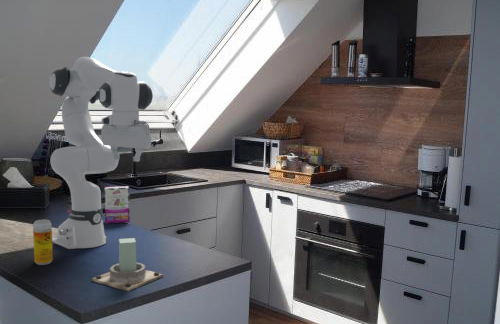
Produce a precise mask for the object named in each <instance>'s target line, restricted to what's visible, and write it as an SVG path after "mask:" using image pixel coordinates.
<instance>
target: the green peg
mask: <svg viewBox="0 0 500 324" xmlns="http://www.w3.org/2000/svg"><path fill="white" fill-rule="evenodd" d="M136 262H137V241H136V238H135V237H130V238H127V237H126V238H118V263H119V272H133V271H136Z"/></svg>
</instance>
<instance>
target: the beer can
mask: <svg viewBox="0 0 500 324" xmlns="http://www.w3.org/2000/svg"><path fill="white" fill-rule="evenodd" d="M32 228H33V229H32V234H33V256H34V263H35V264H36V265H38V266H45V265H49V264H51V263H52V261H53V260H54V256H53V254H54V253H53V242H52V238H53V229H52V222H51V220H50V219H45V218H44V219H36V220H35V221H33V224H32Z"/></svg>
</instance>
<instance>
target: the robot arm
mask: <svg viewBox="0 0 500 324" xmlns="http://www.w3.org/2000/svg"><path fill="white" fill-rule="evenodd" d="M49 87H50V91H51V92H52V94H54V95H56V96H59V97H66V98H65V99H64V100H63V102H62V105H61V118H62V124H63V125H62V126H63V129H64V135H65V138H66V140H67V141H68V142H69V143H70V144H71V145H73V146H65V147H60V148H56V149H55V150H54V151H52V153H51V155H50V160H49V161H50V166H51V169H52V170H53V171H54V172H55V174H57V175H59V177H61V178H62V179H63V180H64V181H65V182H66V183H67V185H68V188H69V192H70V197H71V198H70V199H71V209H68V210H67V209H66V210H67V214H69V216H68V218H67V219H66V220H65V221H64V222H62V223H61V224H59V226H58V228H57V234H56V235H57V236H54V237H52V244H56V245H58V246H61V247H63V248H65V249H67V250H75V249H90V248H91V249H92V248H97V247H101V246H102V245H105V244H106V243H107V235H105V226H104V220H103V219H102V217H103V207H102V195H101V194H102V192H101V189H100V187H99V186H98V185H97V184H95V183H93V182H91V181H88V180H87V179H86V175H88V174H89V175H90V174H105V173H109V172H111V171H112V172H113V171H114V170H116V168H117V167H118V164H119V161H120V159H121V157H120V156H121V154H120V153H119V152H118V149H119V148H129V149H134V151H135V152H136V153H135V154H134V156H132V161H133V162H137V163H138V162H140V161H141V155H142V154H143V150H146V149H147V150H148V149H151V147H152V137H151V130H150V125H149V123H147V121H145V120H140V111H144V110H146V109H147V108H148V107H150V105H151V103H152V102H153V99H154V97H153V96H154V94H153V90H152V89H151V86H150V85H149V84H148V83H147V82H145V81H138V77H137V75H136V74H135V73H134V72H130V71H123V70H122V71H121V70H120V71H119V70H118V71H117V70H114V69H112V68H110V67H108V66H107V65H105V64H103V63H102V62H100V61H99V60H97V59H95V58H93V57H90V56H80V57H78V58H77V59H76V60H75V61H74V63H73V67H72V68H67V67H65V66H64V67H63V68H59V69H56V70H54V71H53V72H52V73H51V75H50V78H49ZM96 101H99V103H100V104H101V106H102V107H104V108H105V109H109V110H111V111H112V112H111V114H110V115H107V116H104V117H102V118H101V124H102V126H101V134H100V135H101V137H99V136H98V135H97V134H96V132H95V129H94V126H93V125H94V124H93V121H92V118H91V114H90V110H89V103H90V104H95V103H96ZM118 147H119V148H118Z"/></svg>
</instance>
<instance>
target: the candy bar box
mask: <svg viewBox="0 0 500 324" xmlns="http://www.w3.org/2000/svg"><path fill="white" fill-rule="evenodd" d="M129 187H130V186H129V185H127V186H126V185H125V186H123V185H121V186H105V187H104V192H103V194H104V223H105V224H124V223H125V224H126V223H130V222H131V214H130V213H131V211H130V209H131V208H130V188H129Z"/></svg>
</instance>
